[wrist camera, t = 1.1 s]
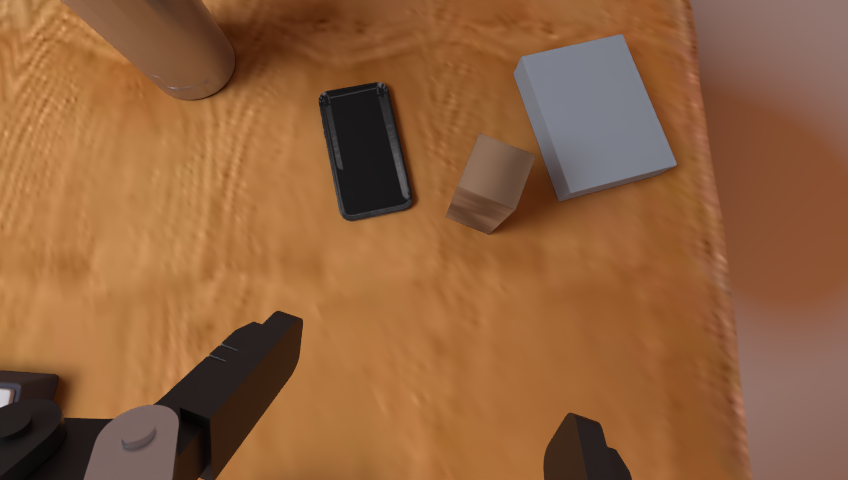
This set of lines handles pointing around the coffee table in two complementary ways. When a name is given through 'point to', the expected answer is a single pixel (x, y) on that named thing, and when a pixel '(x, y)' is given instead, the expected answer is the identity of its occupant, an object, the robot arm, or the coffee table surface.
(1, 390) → the calculator
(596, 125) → the base board
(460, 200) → the walnut block
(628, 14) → the coffee table surface
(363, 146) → the phone
